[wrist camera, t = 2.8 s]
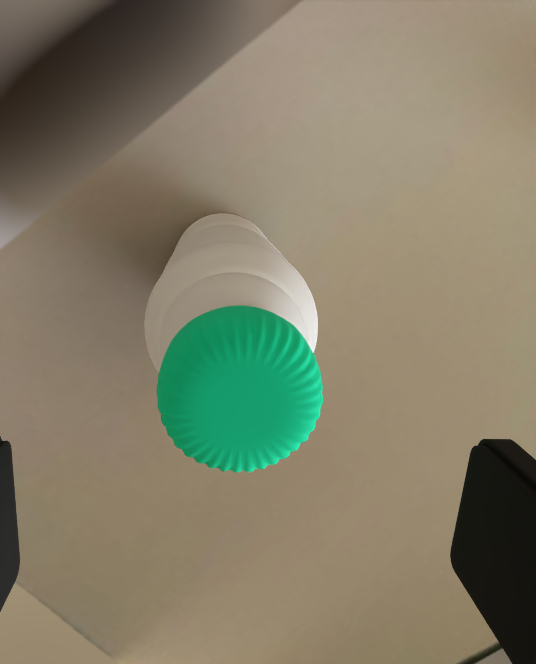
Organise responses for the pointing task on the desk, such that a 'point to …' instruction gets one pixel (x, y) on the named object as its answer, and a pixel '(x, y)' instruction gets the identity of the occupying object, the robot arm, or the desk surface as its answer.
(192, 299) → the water bottle
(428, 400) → the desk surface
